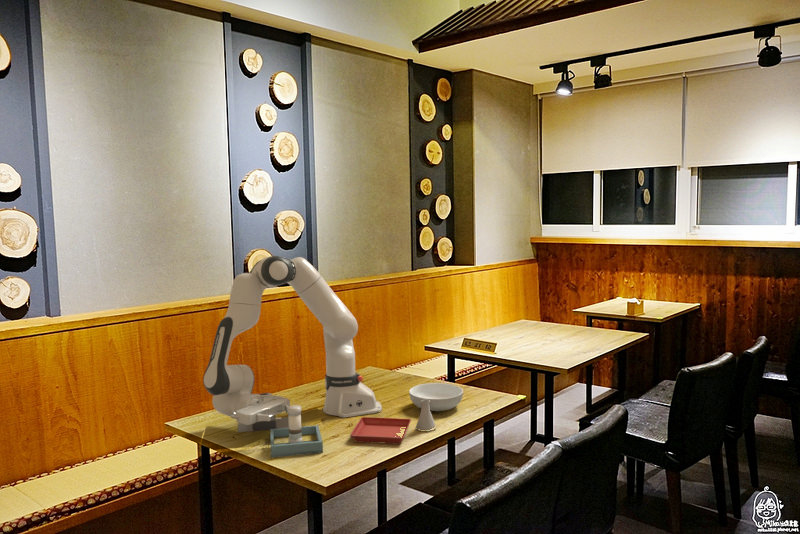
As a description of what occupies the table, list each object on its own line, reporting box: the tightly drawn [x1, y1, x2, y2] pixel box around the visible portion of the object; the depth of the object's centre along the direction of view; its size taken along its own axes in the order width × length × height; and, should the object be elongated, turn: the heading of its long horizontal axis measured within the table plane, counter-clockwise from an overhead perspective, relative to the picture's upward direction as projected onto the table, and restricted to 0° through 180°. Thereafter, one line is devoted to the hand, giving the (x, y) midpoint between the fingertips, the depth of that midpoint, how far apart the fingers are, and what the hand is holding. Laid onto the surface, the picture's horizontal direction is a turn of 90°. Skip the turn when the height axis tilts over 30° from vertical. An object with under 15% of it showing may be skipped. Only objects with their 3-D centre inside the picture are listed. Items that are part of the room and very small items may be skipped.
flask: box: [415, 400, 436, 430], centre depth 215 cm, size 7×7×10 cm
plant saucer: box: [349, 416, 412, 444], centre depth 210 cm, size 18×18×3 cm
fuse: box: [287, 405, 303, 444], centre depth 201 cm, size 4×4×12 cm
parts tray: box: [269, 424, 324, 459], centre depth 201 cm, size 16×16×4 cm
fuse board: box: [237, 414, 289, 433], centre depth 219 cm, size 18×12×4 cm, turn 102°
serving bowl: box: [408, 382, 464, 412], centre depth 239 cm, size 21×21×7 cm
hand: (281, 414), depth 204 cm, fingers open, 8 cm apart
